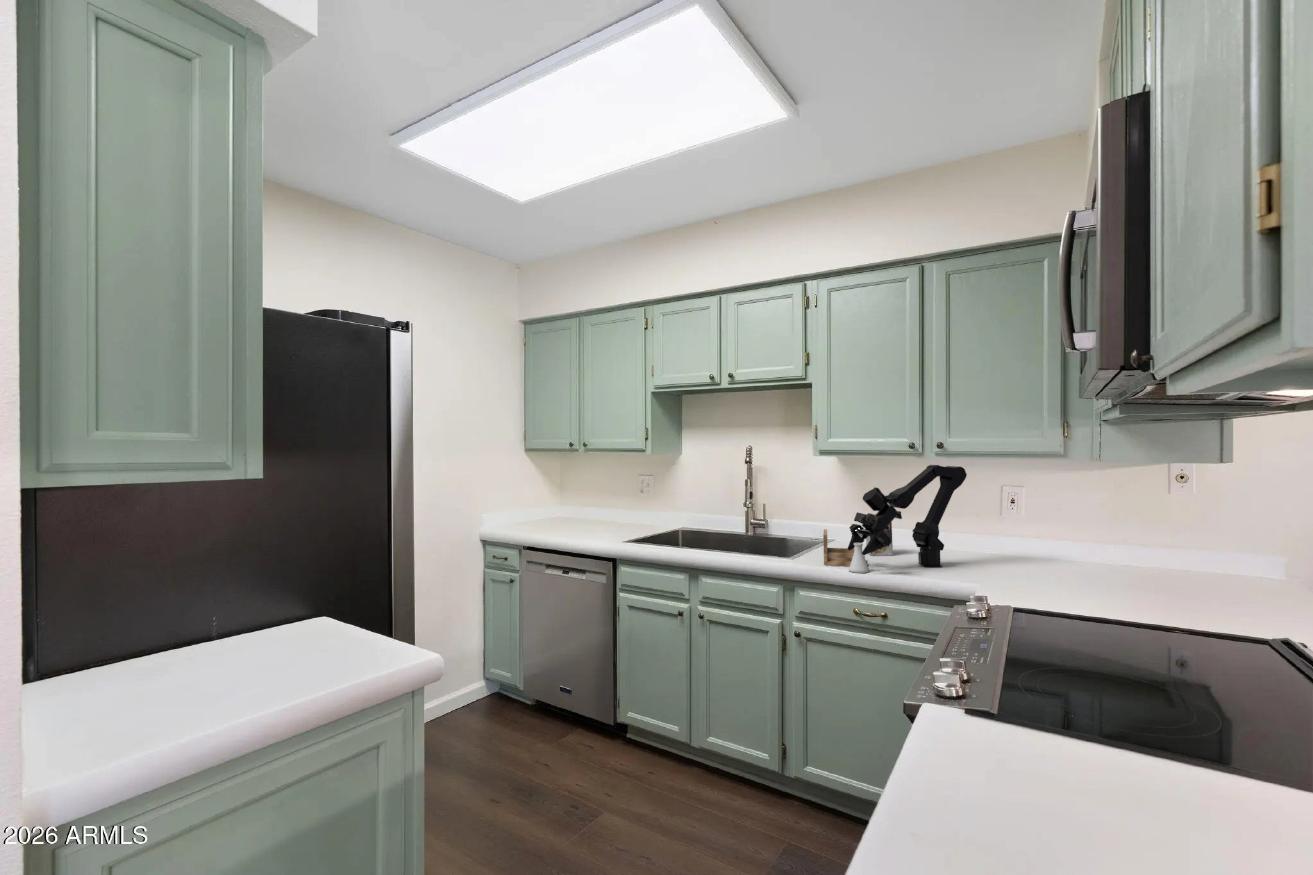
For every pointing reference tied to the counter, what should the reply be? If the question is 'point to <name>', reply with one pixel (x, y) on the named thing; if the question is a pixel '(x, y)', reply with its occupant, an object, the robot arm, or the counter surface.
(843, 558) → the spice stand
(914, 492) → the robot arm
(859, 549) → the flask
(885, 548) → the coffee box
